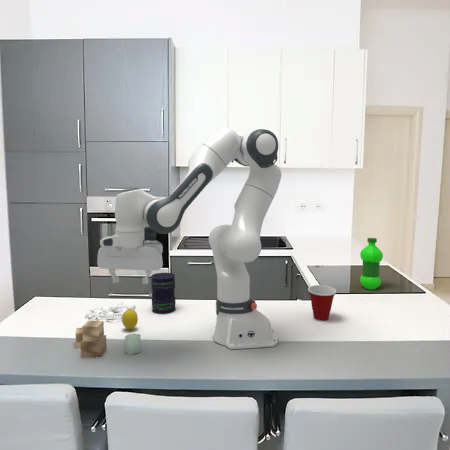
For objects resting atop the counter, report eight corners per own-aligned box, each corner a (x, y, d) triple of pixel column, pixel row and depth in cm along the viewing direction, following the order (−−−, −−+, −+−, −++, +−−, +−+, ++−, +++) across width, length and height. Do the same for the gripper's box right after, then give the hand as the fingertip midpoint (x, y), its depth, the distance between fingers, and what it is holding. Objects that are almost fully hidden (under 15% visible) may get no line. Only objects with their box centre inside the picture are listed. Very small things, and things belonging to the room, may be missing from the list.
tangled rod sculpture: (78, 324, 159) (76, 314, 158) (93, 309, 173) (92, 300, 172) (126, 325, 157) (125, 315, 156) (137, 309, 171) (136, 300, 170)
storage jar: (173, 305, 178) (172, 271, 176) (177, 312, 168) (177, 277, 167) (150, 307, 175) (149, 273, 173) (153, 315, 165) (152, 279, 163)
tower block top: (104, 335, 132) (103, 320, 132) (98, 342, 127) (97, 326, 127) (88, 335, 132) (88, 320, 132) (82, 341, 128) (82, 326, 127)
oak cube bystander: (92, 340, 141) (91, 326, 140) (92, 346, 136) (91, 331, 136) (76, 342, 139) (76, 328, 139) (76, 348, 135) (75, 333, 134)
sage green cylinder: (142, 348, 134) (141, 333, 134) (138, 354, 129) (138, 339, 129) (127, 348, 134) (127, 333, 134) (123, 354, 130) (123, 339, 129)
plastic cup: (310, 323, 156) (311, 292, 154) (304, 313, 167) (305, 285, 165) (339, 323, 156) (340, 292, 155) (330, 313, 167) (331, 284, 165)
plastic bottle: (355, 288, 203) (357, 238, 200) (365, 284, 211) (367, 236, 207) (374, 292, 196) (376, 240, 193) (384, 288, 203) (387, 238, 200)
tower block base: (106, 349, 133) (106, 335, 133) (100, 358, 127) (99, 342, 127) (88, 349, 134) (87, 334, 133) (81, 357, 128) (80, 342, 127)
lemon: (131, 325, 154) (131, 305, 153) (141, 329, 150) (140, 308, 149) (119, 330, 150) (118, 309, 149) (128, 334, 146) (128, 312, 145)
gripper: (165, 239, 130) (165, 281, 132) (102, 237, 132) (103, 279, 134) (160, 242, 124) (160, 286, 126) (94, 240, 126) (95, 284, 127)
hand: (130, 283), depth 130 cm, fingers open, 8 cm apart
